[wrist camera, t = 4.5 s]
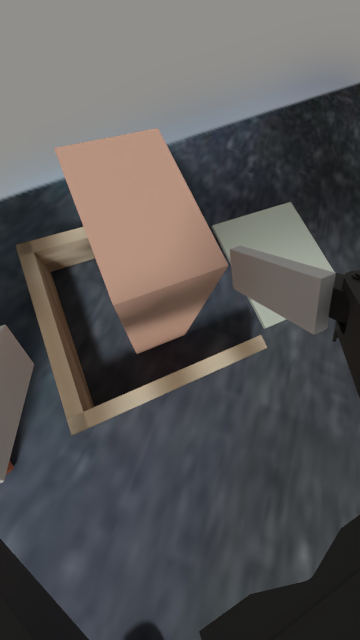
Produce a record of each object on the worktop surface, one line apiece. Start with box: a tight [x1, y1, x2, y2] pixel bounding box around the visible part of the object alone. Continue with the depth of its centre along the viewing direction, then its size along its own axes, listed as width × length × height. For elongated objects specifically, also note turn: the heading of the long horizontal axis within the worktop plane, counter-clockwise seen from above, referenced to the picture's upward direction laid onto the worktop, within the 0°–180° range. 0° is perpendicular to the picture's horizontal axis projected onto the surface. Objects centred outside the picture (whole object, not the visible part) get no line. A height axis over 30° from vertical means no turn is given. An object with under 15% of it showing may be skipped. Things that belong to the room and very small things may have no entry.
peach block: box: [54, 128, 228, 354], centre depth 17 cm, size 5×8×14 cm, turn 23°
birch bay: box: [16, 227, 267, 435], centre depth 22 cm, size 17×16×4 cm
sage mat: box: [212, 202, 334, 329], centre depth 27 cm, size 11×13×1 cm
